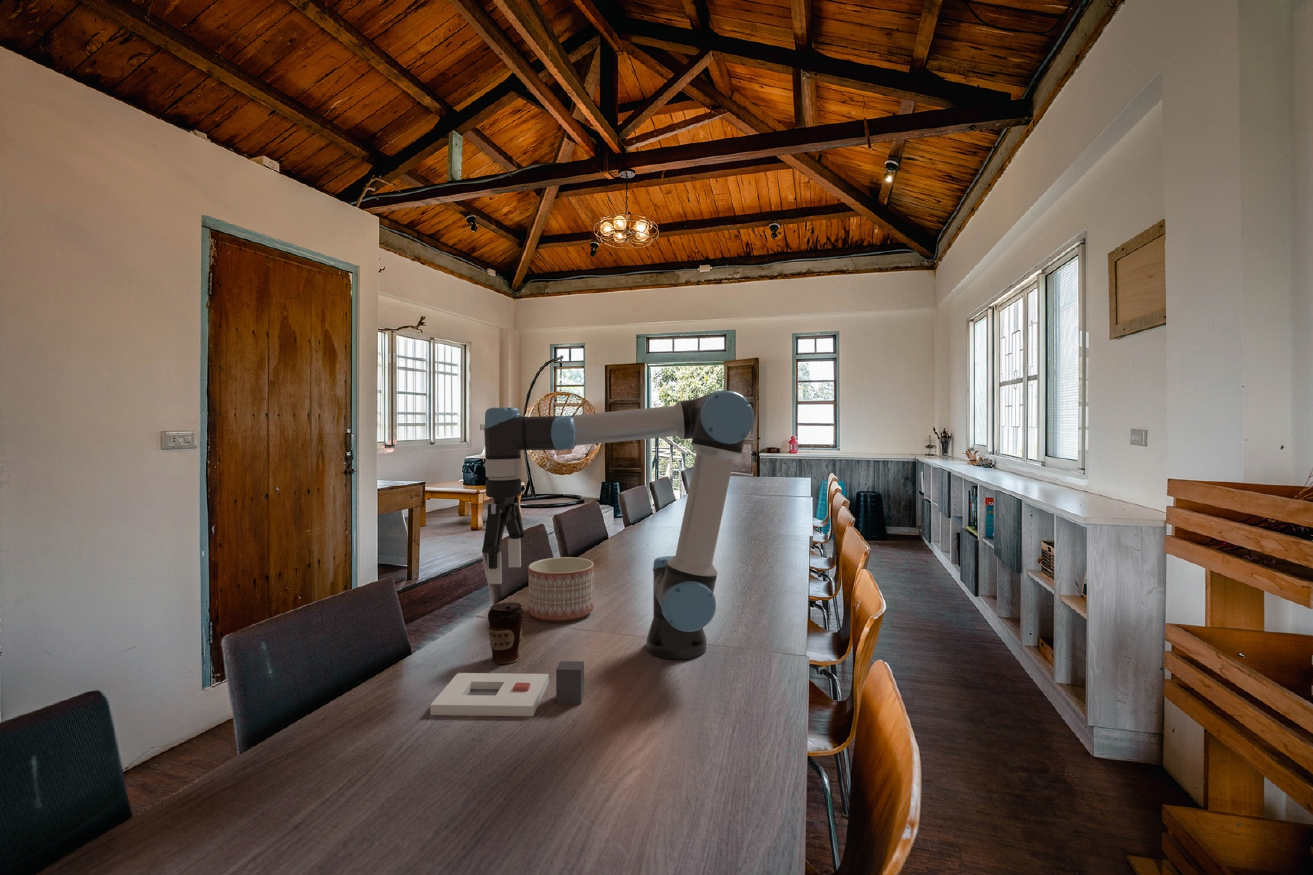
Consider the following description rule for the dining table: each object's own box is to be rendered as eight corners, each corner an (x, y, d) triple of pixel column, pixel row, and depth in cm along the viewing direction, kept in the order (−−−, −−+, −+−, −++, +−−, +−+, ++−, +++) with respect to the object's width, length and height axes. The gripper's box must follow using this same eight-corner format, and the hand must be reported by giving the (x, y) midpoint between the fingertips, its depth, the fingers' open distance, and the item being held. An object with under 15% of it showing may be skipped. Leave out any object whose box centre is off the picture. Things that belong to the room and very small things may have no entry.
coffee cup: (513, 668, 129) (513, 612, 129) (480, 665, 131) (480, 610, 130) (529, 653, 138) (529, 601, 137) (498, 651, 139) (498, 599, 139)
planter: (606, 610, 170) (606, 562, 170) (564, 630, 154) (564, 576, 153) (559, 600, 180) (559, 554, 180) (514, 617, 164) (514, 567, 164)
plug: (584, 694, 117) (584, 661, 116) (581, 704, 113) (580, 669, 112) (560, 694, 117) (560, 661, 117) (556, 703, 113) (556, 669, 113)
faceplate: (548, 683, 122) (548, 670, 122) (533, 716, 108) (532, 701, 108) (457, 682, 122) (457, 669, 122) (430, 715, 108) (430, 700, 108)
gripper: (504, 473, 135) (506, 560, 135) (464, 484, 110) (466, 591, 110) (535, 473, 135) (537, 560, 135) (501, 483, 110) (503, 591, 110)
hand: (505, 574), depth 123 cm, fingers open, 13 cm apart
